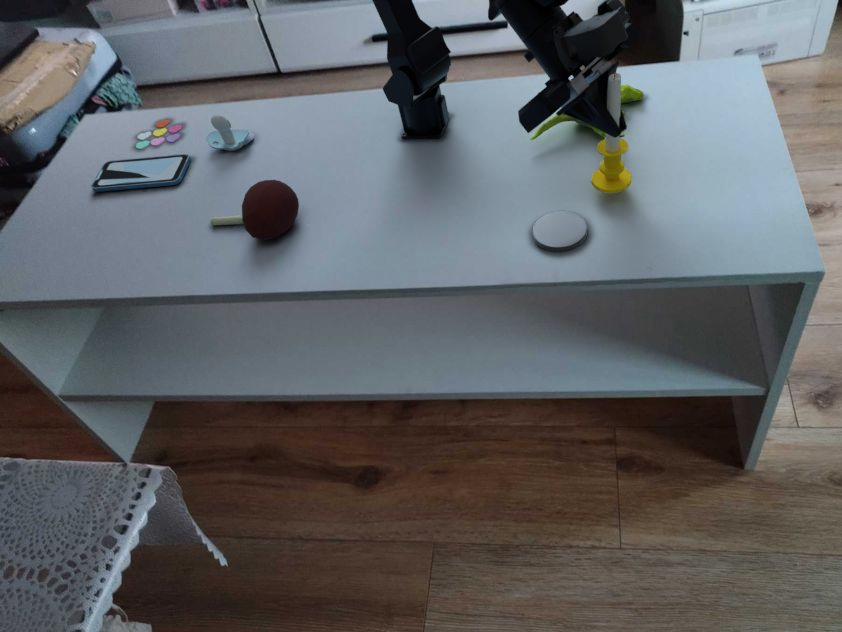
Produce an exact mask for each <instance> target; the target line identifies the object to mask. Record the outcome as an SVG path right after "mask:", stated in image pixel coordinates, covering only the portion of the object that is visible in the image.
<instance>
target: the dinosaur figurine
mask: <svg viewBox="0 0 842 632" xmlns="http://www.w3.org/2000/svg"><path fill="white" fill-rule="evenodd" d="M643 97H644V91H642V90H641V89H638V88H634V87H633V86H631V85H629V84H625V83H624V84H623V85H622V84H621V103H631V102H633V101H634V102H636V101H639V100H642V99H643ZM622 112H623V115H624V117H625V116H626V111H624V110H622ZM565 122H575V123H576V124H579V125H581V126H584V127H586V128H589V129H591V130H593V132H595V134H598V135H600V137H605V138H606V133H604V132H602V131H600V130H598V129H596V128H594V127H592V126H590V125H588V124H586V123H584V122H582V121H580V120H577V119H575V118H572V117H569V116H567V115H564V114H561V115H560V116H558V115H557V114H556V113H555V115H554V116H552V117H551V118H550V119H548V120H547V121H546V122H544V123H542V125H541V126H540V127H539V128H538V129H537V130H536V131H535V133H534V134H533V135H532V136H531V137H530V138H529V141H533V140H535V139H537V138H538V137H539V136H541V135H543V133H545V132H546V131H548V130H550V129H551V128H553V127H554V126H556V125H558V124H562V123H565ZM624 137H626V135H625V134H623V133H621V135H620V139H622V138H624Z"/></svg>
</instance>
